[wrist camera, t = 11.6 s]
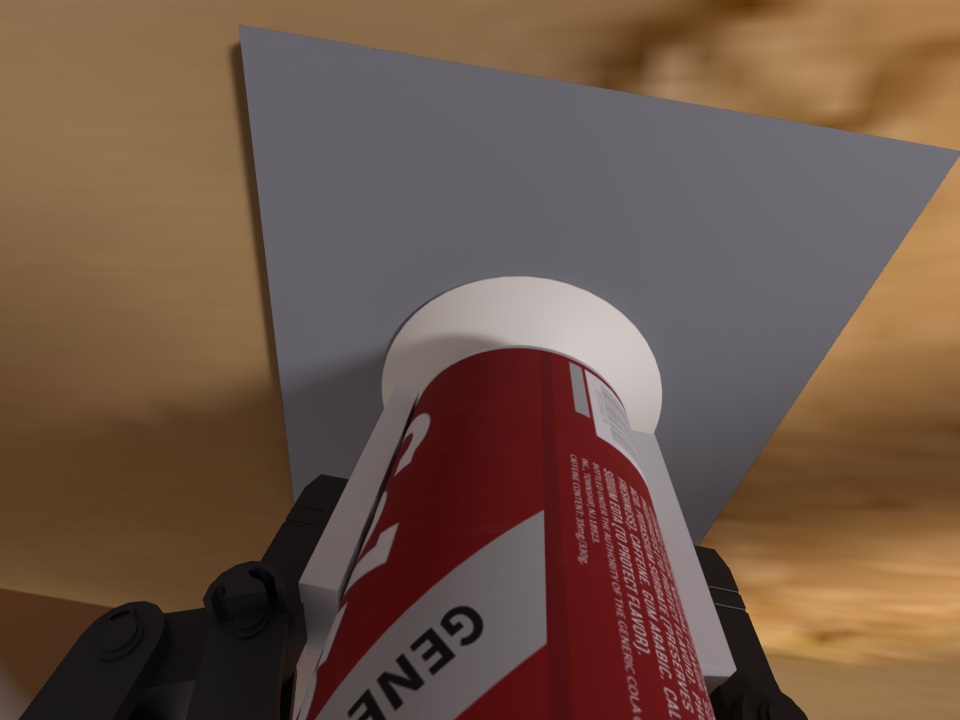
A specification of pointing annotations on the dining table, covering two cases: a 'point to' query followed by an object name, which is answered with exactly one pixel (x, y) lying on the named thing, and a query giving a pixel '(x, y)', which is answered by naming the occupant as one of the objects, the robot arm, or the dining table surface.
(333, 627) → the soda can
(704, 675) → the robot arm
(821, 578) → the dining table surface
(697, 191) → the board
